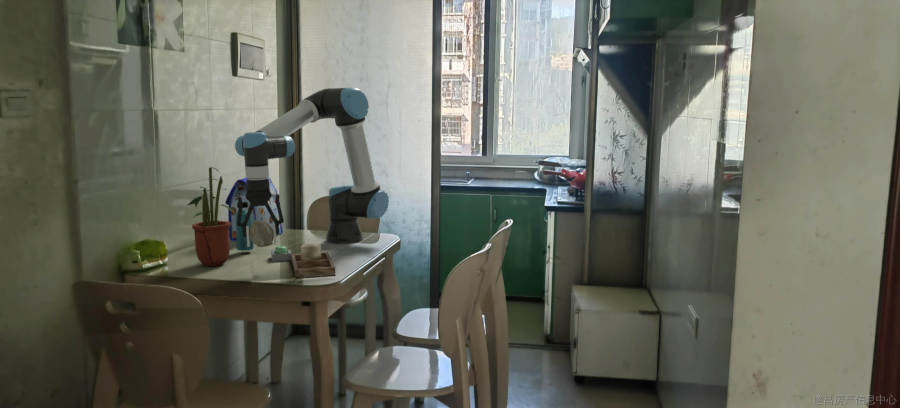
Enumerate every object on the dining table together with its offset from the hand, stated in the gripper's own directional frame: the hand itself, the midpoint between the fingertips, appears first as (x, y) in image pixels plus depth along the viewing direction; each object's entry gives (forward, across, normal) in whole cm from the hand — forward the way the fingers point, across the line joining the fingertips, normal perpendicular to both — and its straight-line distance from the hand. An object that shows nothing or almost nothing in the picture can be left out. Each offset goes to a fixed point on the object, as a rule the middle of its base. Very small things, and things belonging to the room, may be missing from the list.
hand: (262, 244), depth 236 cm
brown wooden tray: (+10, -16, 0) cm, 19 cm away
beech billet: (+9, -16, -6) cm, 20 cm away
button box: (+10, -6, -16) cm, 20 cm away
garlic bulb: (+1, 0, 0) cm, 1 cm away
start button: (+9, -6, -16) cm, 19 cm away
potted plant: (+10, +16, -16) cm, 25 cm away
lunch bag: (+11, +3, -66) cm, 67 cm away
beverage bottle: (+10, +7, -36) cm, 38 cm away
